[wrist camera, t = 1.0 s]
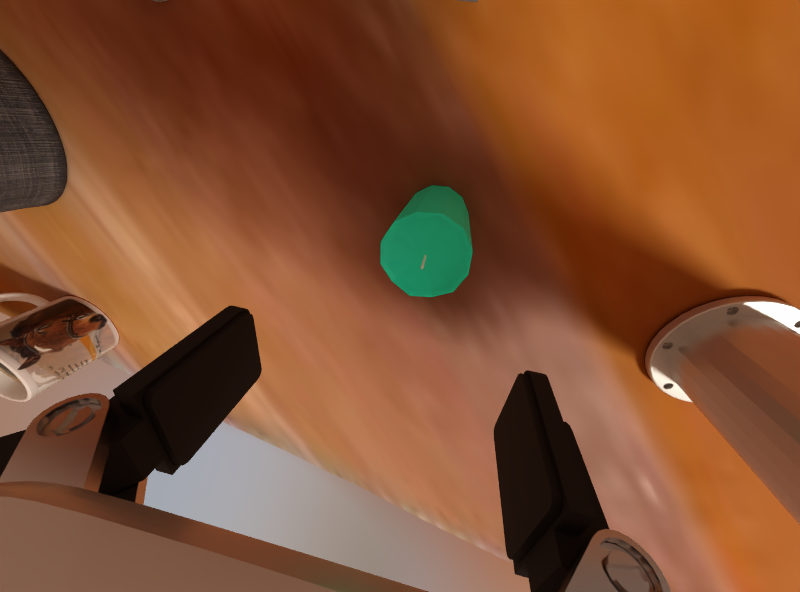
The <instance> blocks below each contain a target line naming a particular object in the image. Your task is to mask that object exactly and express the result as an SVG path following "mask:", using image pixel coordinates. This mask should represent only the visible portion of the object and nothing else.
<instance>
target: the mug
mask: <svg viewBox="0 0 800 592" xmlns="http://www.w3.org/2000/svg"><path fill="white" fill-rule="evenodd" d="M2 301H24V302H28V303H32V304H34V305H36V306H38V307H37V308H34V309H32V310H29V311H27V312H24V313H22V314H20V315H17V316H15V317H12V318H10V319H7V320H5V321H3V322H0V396H1V397H3V398H6V399H9V400H12V401H17V402H24V401H28V400H30V399H31V398H33V397H34V396H36V395H37V394H39V393H41V392H43V391H44V390H46V389H48V388H49V387H51V386H52V385H54V384H56V383H57V382H59V381H60V380H62V379H64V378H65V377H67V376H69V375H70V374H72V373H74V372H75V371H77V370H78V369H80V368H82V367H83V366H85V365H87V364H88V363H90V362H92V361H93V360H95V359H96V358H98V357H100V356H101V355H103V354H105V353H106V352H108V351H109V350H111V349H113V348H114V347H116V345H117V344H118V342H119V335H118V332H117V330H116V328H115V326H114V324H113V323H112V322H111V320H110V319H109V318H108V317H107V316H106V315H105V314H104V313H103V312H102V311H101V310H100V309H98V308H97V307H96V306H94V305H93V304H91V303H89V302H87V301H85V300H83V299H81V298H78V297H73V296H65V297H61V298H59V299H56V300H54V301H51V302H49V301H48V300H46V299H45V298H42V297H40V296H37V295H34V294H29V293H20V292H11V293H1V294H0V302H2Z"/></svg>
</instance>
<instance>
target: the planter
mask: <svg viewBox="0 0 800 592" xmlns="http://www.w3.org/2000/svg"><path fill="white" fill-rule="evenodd" d="M66 182H67V163H66V157H65V153H64V149H63V146H62V143H61V140H60V137H59V135H58V132H57V130H56V128H55V125H54V123H53V121H52V119H51V117H50V115H49V113H48V112H47V110H46V108H45V106H44V105H43V103H42V102H41V100H40V98H39V97H38V95H37V94H36V92H35V91H34V89H33V88H32V87H31V85H30V84H29V83H28V81H27V80H26V79H25V78H24V76H23V75H22V74H21V73H20V71H19V70H18V69H17V68H16V67H15V66H14V64H13V63H12V62H11V61H10V60H9V59H8V58H7V57H6V56H5V55H4V54H3V53H2V52H1V51H0V212H5V211H11V210H17V209H22V208H30V207H39V206H44V205H49V204H51V203H53V202H55V201H56V200H57V199H59V197H60V196H61V195H62V193H63V191H64V189H65V186H66Z"/></svg>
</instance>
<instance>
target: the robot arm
mask: <svg viewBox="0 0 800 592" xmlns="http://www.w3.org/2000/svg"><path fill="white" fill-rule="evenodd" d="M645 367H646V370H647V373H648V375H649V376H650V378H651V379H652V381H653V382H654V383H655V385H656V386H657V387H658V388H659V389H660V390H662V391H663V392H665V393H666V394H668V395H670V396H672V397H675V398H677V399H680V400H684V401H689V402H693V403H694V404H695V405H696V406H697V408H698V409H699V410H700V411H701V412H702V413H703V414H704V416H705V417H706V418H707V419H708V420H709V421H710V422H711V424H712V425H713V426H714V427H715V428H716V429H717V430H718V432H719V433H720V434H721V435H722V436H723V437H724V438H725V440H726V441H727V442H728V443H729V444H730V445H731V447H732V448H733V449H734V450H735V451H736V452H737V453H738V455H739V456H740V457H741V458H742V459H743V460H744V461H745V463H746V464H747V465H748V466H749V467H750V468H751V469H752V471H753V472H754V473H755V474H756V475H757V476H758V477H759V479H760V480H761V481H762V482H763V483H764V484H765V485H766V487H767V488H768V489H769V490H770V491H771V492H772V493H773V495H774V496H775V497H776V498H777V499H778V500H779V501H780V503H781V504H782V505H783V506H784V507H785V508H786V509H787V511H788V512H789V513H790V514H791V515H792V516H793V517H794V519H795V520H796V521H797V522H798V523H799V524H800V309H799V308H797V307H795V306H793V305H791V304H789V303H786V302H784V301H781V300H779V299H774V298H769V297H763V296H741V297H732V298H726V299H722V300H717V301H713V302H710V303H707V304H704V305H701V306H698V307H696V308H694V309H692V310H690V311H688V312H686V313H684V314H682V315H680V316H679V317H677V318H676V319H674V320H673V321H671V322H670V323H668V324H667V325H666V326H665V327H664V328H663V329H662V330H660V331H659V333H658V334H657V335H656V336H655V337H654V339H653V340H652V341H651V343H650V345H649V347H648V349H647V353H646V357H645ZM261 370H262V368H261V362H260V356H259V350H258V343H257V337H256V331H255V325H254V319H253V316H252V314H250V312H249V310H248V309H245V308H240V307H236V306H228V307H227V308H225V309H224V310H222V311H221V312H220V313H218V314H217V315H216V316H214V317H213V318H211V319H210V320H209V321H207V322H206V323H205V324H203V325H202V326H200V327H199V328H198V329H196V330H195V331H194V332H192V333H191V334H189V335H188V336H187V337H185V338H184V339H183V340H181V341H180V342H178V343H177V344H176V345H174V346H173V347H172V348H170V349H169V350H167V351H166V352H165V353H163V354H162V355H161V356H159V357H158V358H156V359H155V360H154V361H152V362H151V363H150V364H148V365H147V366H145V367H144V368H143V369H141V370H140V371H139V372H137V373H136V374H134V375H133V376H132V377H130V378H129V379H128V380H126V381H125V382H124V383H122V384H121V385H119V386H118V387H117V388H115V389H114V390H113V392H114V394H115V396H114V397H112V398H111V399H109V400H108V398H107V397H106V396H104V395H101V394H96V393H89V394H83V395H78V396H74V397H71V398H68V399H65V400H63V401H61V402H59V403H56V404H54V405H53V406H51V407H49V408H48V409H46V410H44V411H43V412H42V413H40V414H39V415H38V416H37V417H36V418H35V419H33V421H32V422H31V423H30V425H29V426H28V427H27V429H26V430H23V431H20V432H16V433H13V434H10V435H7V436H3V437H0V592H428V591H424V590H421V589H418V588H415V587H412V586H408V585H405V584H402V583H399V582H395V581H392V580H389V579H386V578H383V577H379V576H376V575H373V574H370V573H366V572H363V571H360V570H357V569H353V568H350V567H347V566H344V565H340V564H337V563H334V562H331V561H328V560H324V559H321V558H318V557H314V556H311V555H308V554H305V553H301V552H298V551H295V550H291V549H288V548H285V547H282V546H278V545H275V544H272V543H268V542H265V541H262V540H258V539H255V538H252V537H248V536H245V535H242V534H239V533H235V532H232V531H229V530H225V529H222V528H219V527H216V526H212V525H209V524H205V523H202V522H198V521H195V520H192V519H189V518H185V517H182V516H178V515H175V514H172V513H169V512H165V511H162V510H158V509H155V508H152V507H148V506H145V505H143V503H144V497H145V490H146V484H147V477H148V475H149V474H150V473H151V472H152V471H153V470H154V468H155V469H156V470H157V471H160V472H164V473H168V474H171V475H173V474H174V473H175V471H176V470H177V469H178V468H179V467H180V466H181V465H184V464H186V463H187V462H188V461H189V460H190V459H191V458H192V457H193V456H194V455H195V453H196V452H197V451H198V450H199V448H200V447H201V446H202V445H203V444H204V443H205V441H206V440H207V439H208V438H209V437H210V435H211V434H212V433H213V432H214V431H215V430H216V428H217V427H218V426H219V425H220V424H221V422H222V421H223V420H224V419H225V418H226V416H227V415H228V414H229V413H230V412H231V410H232V409H233V408H234V407H235V406H236V405H237V403H238V402H239V401H240V400H241V399H242V397H243V396H244V395H245V394H246V393H247V391H248V390H249V389H250V388H251V387H252V385H253V384H254V383H255V382H256V381H257V380H258V378H259V377H260V374H261ZM494 442H495V452H496V461H497V470H498V479H499V489H500V498H501V507H502V517H503V526H504V535H505V545H506V552H507V556H508V558H509V559H512V560H513V562H514V570H515V574H517V575H520V576H523V577H527V578H529V583H530V589H531V592H671V591H670V588H669V585H668V583H667V581H666V579H665V577H664V575H663V573H662V571H661V570H660V568H659V567H658V565H657V564H656V563H655V561H654V560H653V559H652V557H651V556H650V555H649V554H648V553H647V552H646V551H645V550H644V549H643V548H642V547H641V546H640V545H639V544H638V543H636V542H635V541H634V540H632V539H631V538H629V537H628V536H626V535H624V534H622V533H620V532H618V531H615V530H610V529H609V527H608V524H607V522H606V519H605V516H604V514H603V511H602V508H601V506H600V503H599V500H598V498H597V495H596V492H595V490H594V487H593V484H592V482H591V479H590V476H589V474H588V471H587V468H586V466H585V463H584V460H583V458H582V455H581V453H580V450H579V447H578V445H577V442H576V439H575V437H574V434H573V431H572V429H571V427H570V425H569V424H568V423H567V422H563V419H562V416H561V413H560V411H559V408H558V405H557V402H556V399H555V397H554V394H553V391H552V388H551V385H550V383H549V380H548V377H547V375H545V374H542V373H537V372H533V371H525V372H524V374H521V373H520V374H518V376H517V378H516V380H515V383H514V385H513V387H512V389H511V391H510V393H509V396H508V398H507V400H506V402H505V404H504V407H503V409H502V411H501V413H500V415H499V418H498V420H497V422H496V424H495V428H494Z"/></svg>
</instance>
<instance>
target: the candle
mask: <svg viewBox="0 0 800 592" xmlns="http://www.w3.org/2000/svg"><path fill="white" fill-rule="evenodd" d="M472 253H473V249H472V240H471V231H470V222H469V213H468V210H467V208H466V205H465V203H464V200H463V197H462V196H460V195H459V194H458V193H456V192H455V191H454V190H452V189H451V188H450V187H446V186H435V185H431V186H429V187H427V188H425V189H423V190H421V191H419V192H417V193H415V195H414V196H413V197H412V199H411V200H410V201H409V203H408V204H407V205H406V207H405V208H404V209H403V210H402V212H401V213H400V214H399V216H398V217H397V218H396V220H395V221H394V222H393V224H392V225H391V227H390V228H389V230H388V231H387V233H386V234H385V236H384V237H383V239H382V240H381V250H380V264H381V266H382V267H383V269H384V270H385V272H386V273H387V275H388V276H389V278H390V279H391V281H392V282H393V283H395V284H396V285H397V286H398V287H399V288H401V289H402V290H403V291H404V292H405V293H407V294H408V295H409V296H421V297H435V296H439V295H443V294H447V293H452V292H454V291H455V289H456V288H457V287H458V286H459V285H460V284H461V283H462V281H463V280H464V279H465V278H466V277H467V276H468V274H469V269H470V264H471V259H472Z"/></svg>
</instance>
